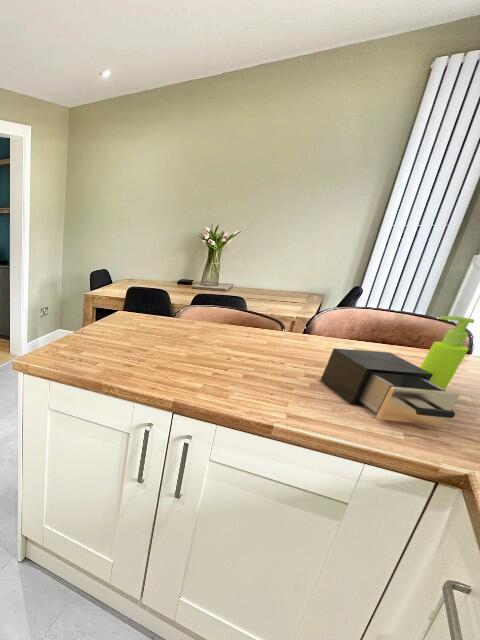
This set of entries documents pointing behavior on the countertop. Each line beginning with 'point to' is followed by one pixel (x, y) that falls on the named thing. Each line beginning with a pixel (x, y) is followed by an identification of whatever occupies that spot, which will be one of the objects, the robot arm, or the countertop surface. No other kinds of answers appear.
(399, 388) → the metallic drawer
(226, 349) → the countertop surface
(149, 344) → the countertop surface
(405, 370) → the black drawer box
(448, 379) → the soap dispenser
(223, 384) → the countertop surface
